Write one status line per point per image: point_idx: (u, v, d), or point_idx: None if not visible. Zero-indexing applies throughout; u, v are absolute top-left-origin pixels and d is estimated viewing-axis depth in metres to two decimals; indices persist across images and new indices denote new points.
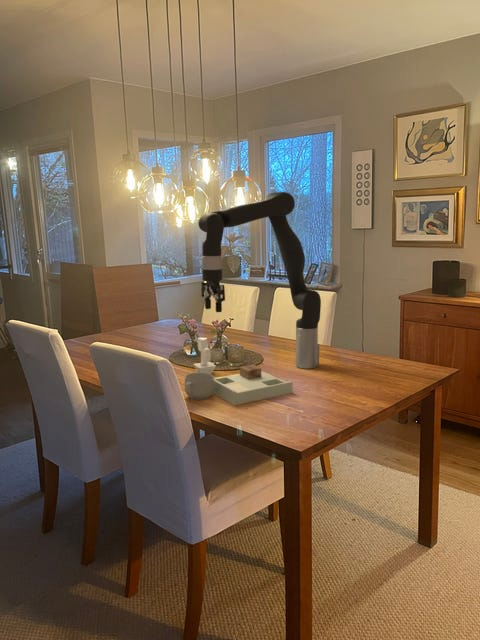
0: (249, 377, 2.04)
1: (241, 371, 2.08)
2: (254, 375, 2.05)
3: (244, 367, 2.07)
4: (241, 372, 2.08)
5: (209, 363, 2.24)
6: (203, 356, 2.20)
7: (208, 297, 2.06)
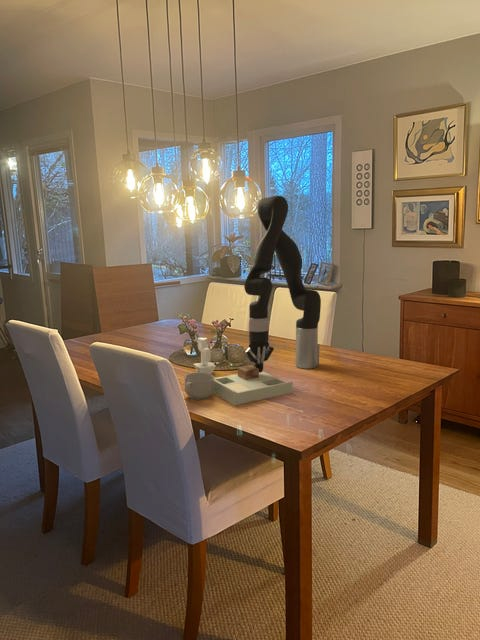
0: (247, 377, 2.03)
1: (238, 372, 2.07)
2: (252, 375, 2.04)
3: (242, 367, 2.07)
4: (238, 372, 2.07)
5: (209, 363, 2.24)
6: (203, 356, 2.20)
7: None
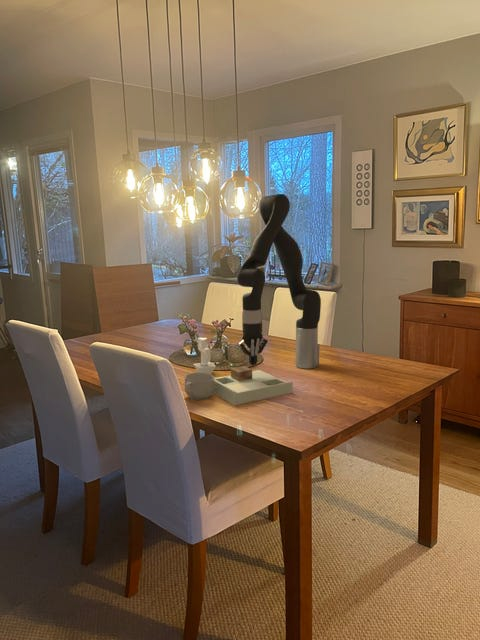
0: (240, 379, 2.02)
1: (232, 373, 2.06)
2: (245, 377, 2.03)
3: (235, 369, 2.05)
4: (231, 373, 2.06)
5: (209, 363, 2.24)
6: (203, 356, 2.20)
7: None
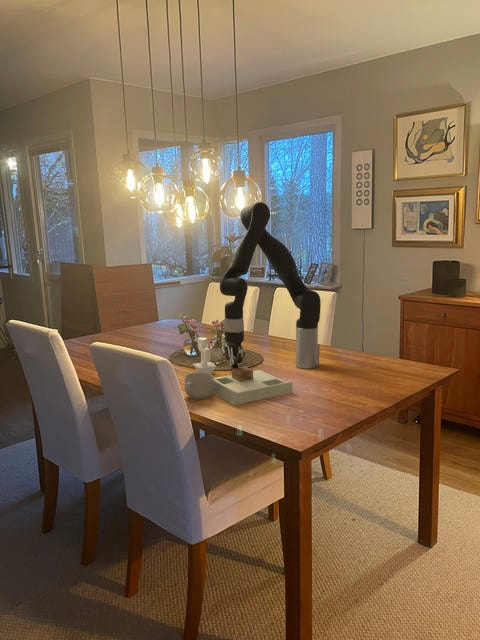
0: (241, 379, 2.01)
1: (232, 373, 2.05)
2: (246, 377, 2.02)
3: (236, 369, 2.05)
4: (232, 374, 2.05)
5: (209, 363, 2.24)
6: (203, 356, 2.20)
7: None
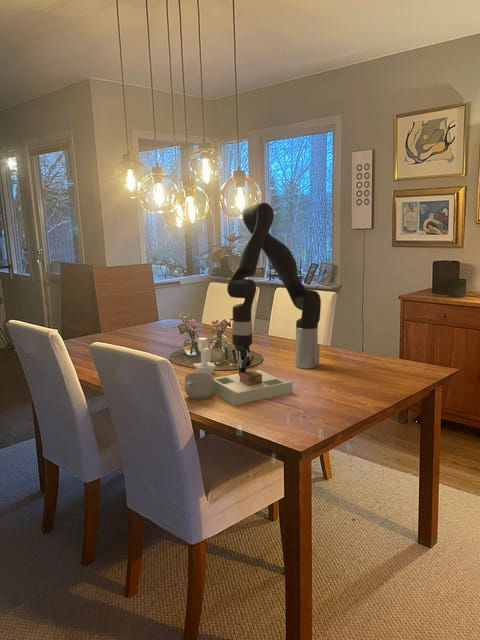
0: (249, 383, 1.96)
1: (241, 377, 2.00)
2: (255, 381, 1.97)
3: (244, 373, 2.00)
4: (240, 378, 2.00)
5: (209, 363, 2.24)
6: (203, 356, 2.20)
7: None
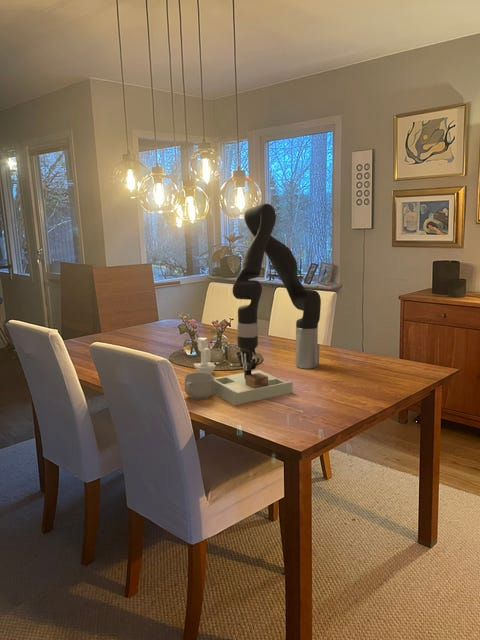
0: (255, 386, 1.93)
1: (246, 380, 1.97)
2: (261, 384, 1.94)
3: (250, 376, 1.96)
4: (246, 380, 1.97)
5: (209, 363, 2.24)
6: (203, 356, 2.20)
7: None
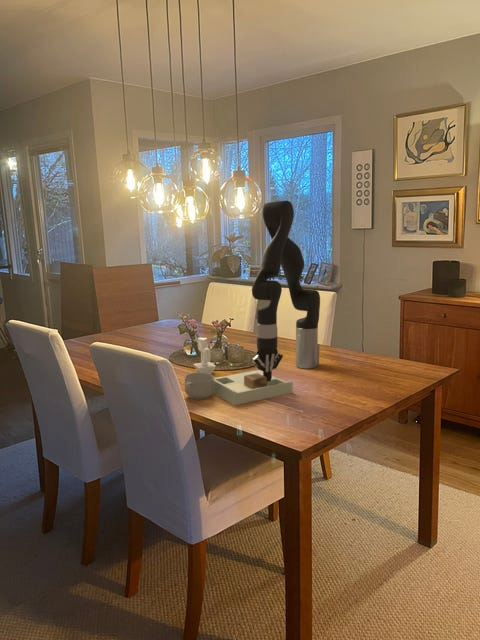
0: (254, 387, 1.92)
1: (245, 380, 1.96)
2: (259, 384, 1.94)
3: (248, 376, 1.96)
4: (245, 381, 1.96)
5: (209, 363, 2.24)
6: (203, 356, 2.20)
7: None
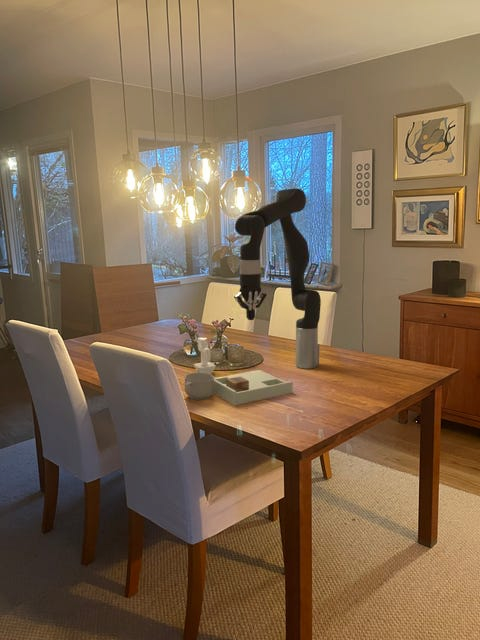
0: (235, 390, 1.89)
1: (227, 384, 1.93)
2: (241, 388, 1.90)
3: (230, 379, 1.92)
4: (227, 384, 1.93)
5: (209, 363, 2.24)
6: (203, 356, 2.20)
7: None
